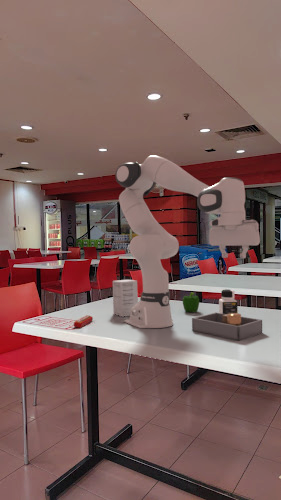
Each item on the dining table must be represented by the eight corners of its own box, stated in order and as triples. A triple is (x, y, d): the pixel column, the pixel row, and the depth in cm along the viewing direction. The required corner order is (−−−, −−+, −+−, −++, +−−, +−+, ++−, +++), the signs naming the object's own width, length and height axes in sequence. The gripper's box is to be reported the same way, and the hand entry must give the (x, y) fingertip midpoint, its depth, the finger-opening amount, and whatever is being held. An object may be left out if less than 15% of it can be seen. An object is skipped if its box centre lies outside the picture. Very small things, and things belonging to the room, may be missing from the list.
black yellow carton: (222, 316, 173) (222, 291, 173) (218, 313, 180) (218, 289, 180) (237, 316, 174) (237, 290, 173) (233, 313, 181) (233, 288, 180)
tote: (192, 330, 148) (192, 318, 147) (216, 324, 158) (216, 312, 158) (239, 340, 131) (238, 326, 131) (262, 332, 142) (262, 319, 142)
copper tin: (225, 333, 139) (224, 314, 139) (232, 330, 143) (232, 312, 142) (236, 335, 136) (236, 316, 135) (244, 332, 139) (243, 314, 139)
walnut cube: (222, 328, 147) (222, 315, 147) (230, 325, 151) (229, 313, 151) (233, 330, 144) (233, 317, 144) (240, 327, 147) (240, 315, 147)
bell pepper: (182, 310, 191) (182, 290, 191) (198, 310, 190) (198, 290, 190) (183, 313, 183) (182, 293, 182) (199, 313, 182) (199, 293, 182)
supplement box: (138, 314, 181) (138, 280, 181) (122, 317, 176) (121, 282, 176) (128, 311, 189) (128, 279, 189) (112, 314, 184) (112, 280, 184)
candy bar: (80, 329, 155) (80, 322, 155) (72, 328, 156) (71, 321, 156) (94, 320, 171) (94, 314, 171) (86, 320, 172) (86, 314, 172)
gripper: (263, 219, 132) (263, 258, 133) (216, 222, 148) (216, 257, 148) (253, 219, 128) (254, 258, 129) (206, 222, 144) (207, 257, 144)
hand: (233, 257), depth 138 cm, fingers open, 6 cm apart
